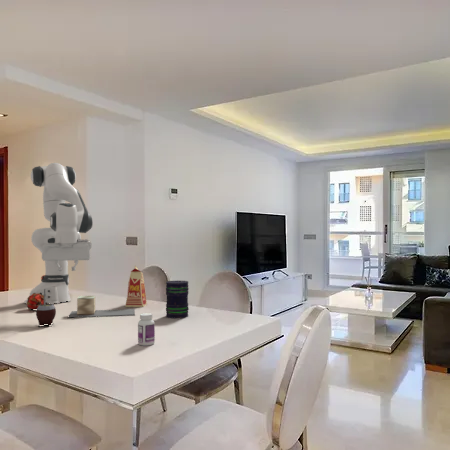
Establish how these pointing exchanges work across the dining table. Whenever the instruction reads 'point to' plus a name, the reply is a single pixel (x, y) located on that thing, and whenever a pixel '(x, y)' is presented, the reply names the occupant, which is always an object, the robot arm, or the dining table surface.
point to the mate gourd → (45, 312)
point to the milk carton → (136, 290)
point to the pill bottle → (146, 330)
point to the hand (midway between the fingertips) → (66, 270)
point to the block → (85, 305)
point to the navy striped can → (177, 299)
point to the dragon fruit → (35, 301)
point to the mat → (106, 313)
